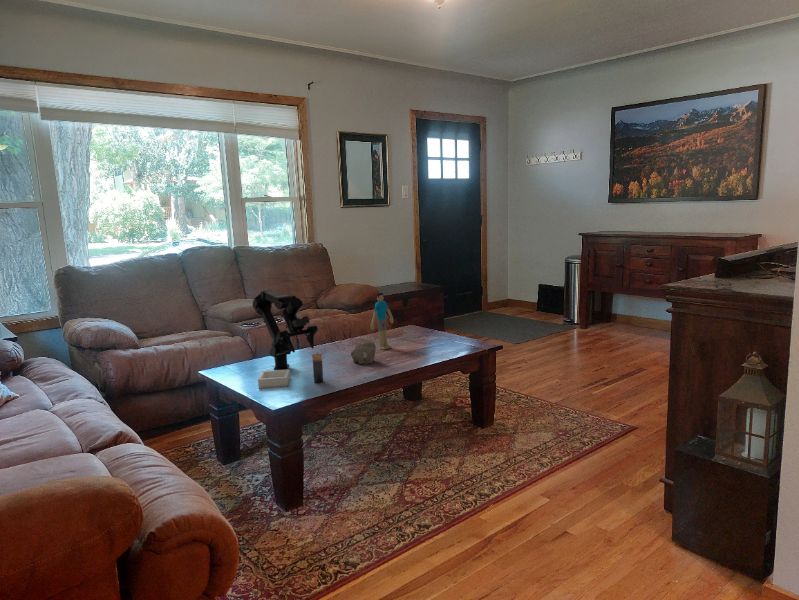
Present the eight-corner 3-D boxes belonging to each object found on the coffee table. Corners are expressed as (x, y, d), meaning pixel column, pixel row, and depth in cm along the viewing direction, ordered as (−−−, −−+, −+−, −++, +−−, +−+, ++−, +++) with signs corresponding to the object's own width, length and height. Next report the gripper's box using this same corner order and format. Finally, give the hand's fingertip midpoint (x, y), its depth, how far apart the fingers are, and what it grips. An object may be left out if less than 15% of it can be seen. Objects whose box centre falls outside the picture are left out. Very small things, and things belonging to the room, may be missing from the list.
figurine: (377, 352, 279) (374, 295, 274) (368, 350, 284) (366, 294, 279) (399, 346, 290) (397, 291, 285) (391, 344, 295) (389, 290, 290)
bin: (263, 379, 241) (262, 371, 240) (290, 378, 242) (289, 369, 241) (258, 388, 229) (257, 379, 228) (287, 386, 230) (286, 377, 229)
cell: (314, 380, 237) (312, 351, 235) (323, 380, 237) (321, 351, 235) (313, 383, 233) (311, 354, 231) (323, 383, 233) (321, 353, 231)
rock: (346, 353, 257) (348, 343, 264) (353, 370, 261) (355, 360, 268) (373, 347, 254) (375, 337, 261) (380, 364, 259) (381, 355, 266)
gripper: (277, 313, 232) (290, 345, 226) (315, 307, 243) (328, 337, 238) (270, 327, 240) (282, 357, 234) (307, 320, 251) (320, 349, 246)
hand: (303, 350), depth 238 cm, fingers open, 9 cm apart
